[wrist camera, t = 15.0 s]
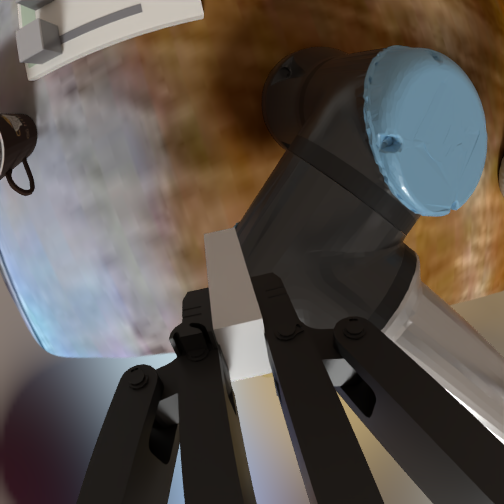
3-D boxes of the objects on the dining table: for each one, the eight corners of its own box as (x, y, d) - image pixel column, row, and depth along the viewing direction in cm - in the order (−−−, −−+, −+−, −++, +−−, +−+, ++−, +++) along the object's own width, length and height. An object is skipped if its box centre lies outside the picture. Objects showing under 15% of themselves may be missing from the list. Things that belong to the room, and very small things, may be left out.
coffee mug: (-11, 123, 26) (-55, 137, 18) (34, 94, 27) (-8, 99, 18) (14, 197, 32) (-23, 227, 24) (59, 174, 33) (24, 201, 24)
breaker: (57, 25, 22) (38, 17, 17) (62, 53, 24) (42, 48, 19) (36, 37, 22) (15, 31, 17) (41, 64, 24) (19, 62, 19)
